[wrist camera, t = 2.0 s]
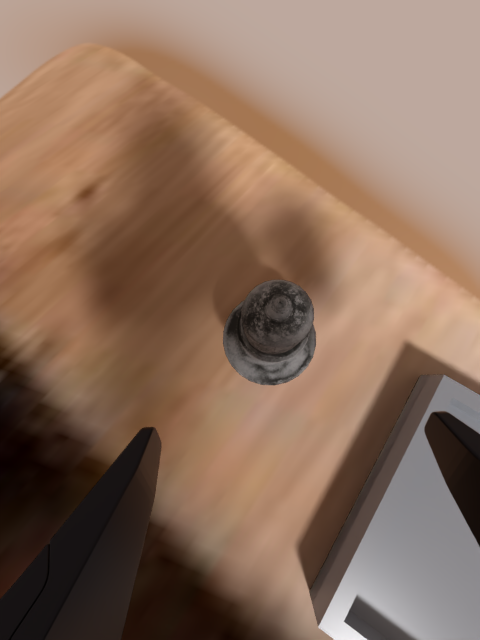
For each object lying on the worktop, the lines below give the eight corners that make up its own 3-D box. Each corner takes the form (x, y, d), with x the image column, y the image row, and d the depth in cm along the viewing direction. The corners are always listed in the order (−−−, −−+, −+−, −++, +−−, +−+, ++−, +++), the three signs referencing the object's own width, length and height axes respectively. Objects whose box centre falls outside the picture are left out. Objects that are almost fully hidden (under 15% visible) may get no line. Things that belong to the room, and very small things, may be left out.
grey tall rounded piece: (311, 379, 20) (391, 383, 8) (232, 387, 20) (199, 402, 8) (299, 302, 21) (354, 210, 9) (224, 311, 21) (188, 231, 10)
